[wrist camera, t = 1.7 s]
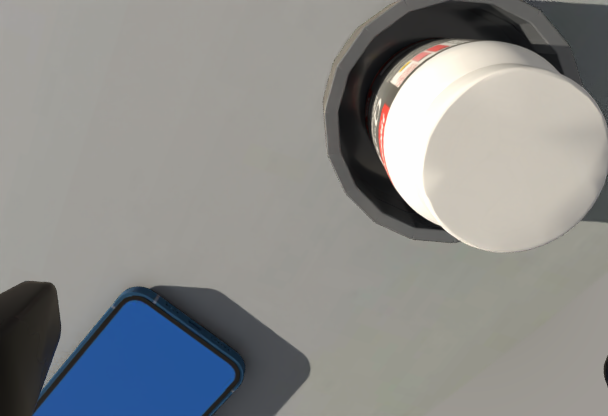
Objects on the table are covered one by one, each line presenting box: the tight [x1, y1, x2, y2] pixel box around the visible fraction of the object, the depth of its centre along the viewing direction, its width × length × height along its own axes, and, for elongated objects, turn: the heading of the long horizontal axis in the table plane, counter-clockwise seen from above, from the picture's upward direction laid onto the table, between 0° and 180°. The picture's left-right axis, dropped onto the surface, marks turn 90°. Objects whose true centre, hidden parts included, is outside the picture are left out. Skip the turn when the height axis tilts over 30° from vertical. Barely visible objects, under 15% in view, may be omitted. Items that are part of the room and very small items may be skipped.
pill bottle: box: [365, 38, 608, 253], centre depth 18 cm, size 6×6×10 cm
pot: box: [323, 0, 583, 243], centre depth 21 cm, size 9×9×4 cm
